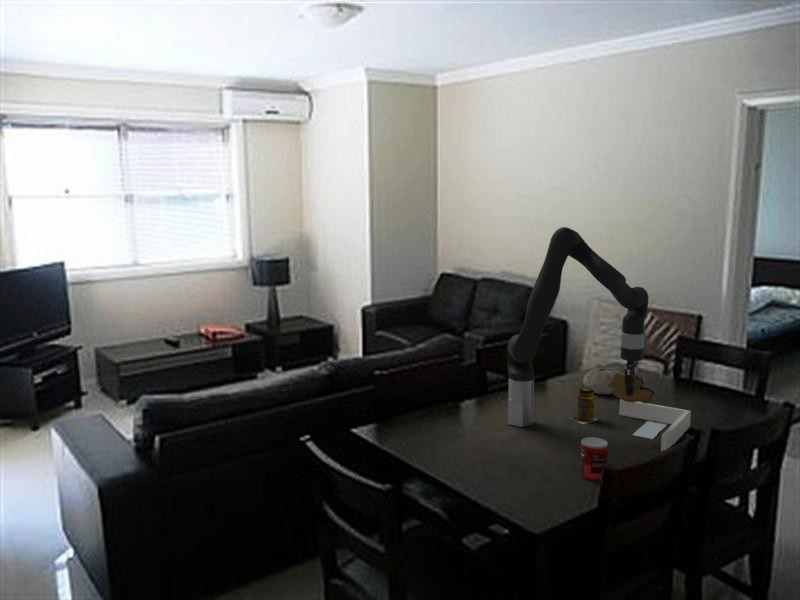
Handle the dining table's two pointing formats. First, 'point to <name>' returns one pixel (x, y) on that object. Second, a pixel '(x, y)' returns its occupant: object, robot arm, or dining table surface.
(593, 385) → the decorative shell
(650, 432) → the pad
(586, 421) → the condiment
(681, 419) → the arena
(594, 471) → the canned food
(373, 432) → the dining table surface
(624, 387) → the wooden carving
